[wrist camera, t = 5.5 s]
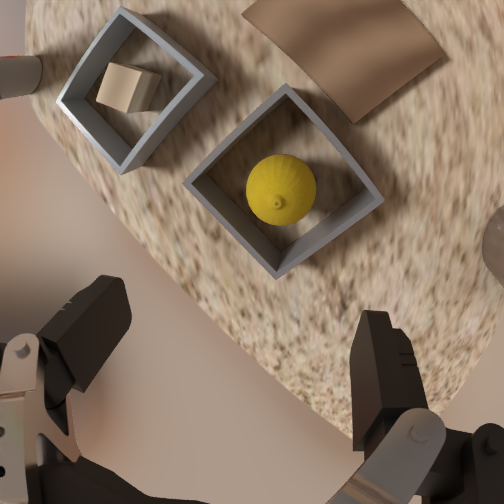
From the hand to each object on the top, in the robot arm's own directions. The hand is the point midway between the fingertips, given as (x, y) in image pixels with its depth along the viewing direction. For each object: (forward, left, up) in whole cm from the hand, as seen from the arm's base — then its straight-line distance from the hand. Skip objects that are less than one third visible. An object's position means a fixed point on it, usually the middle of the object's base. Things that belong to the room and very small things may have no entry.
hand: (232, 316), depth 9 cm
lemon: (0, 0, -20) cm, 20 cm away
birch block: (+17, +4, -20) cm, 27 cm away
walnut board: (+7, -14, -20) cm, 25 cm away
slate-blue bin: (+17, +4, -20) cm, 26 cm away
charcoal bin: (0, 0, -20) cm, 20 cm away
